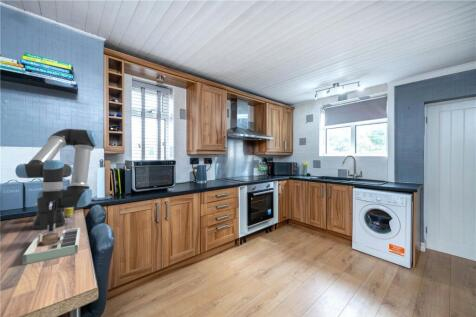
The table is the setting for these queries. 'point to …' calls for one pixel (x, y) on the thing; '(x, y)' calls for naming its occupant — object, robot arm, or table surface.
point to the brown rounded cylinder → (50, 239)
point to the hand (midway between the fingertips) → (50, 237)
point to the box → (66, 247)
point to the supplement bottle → (68, 212)
